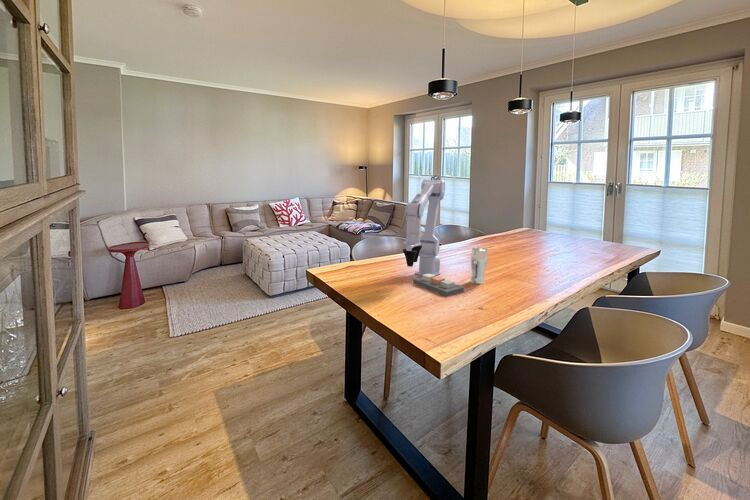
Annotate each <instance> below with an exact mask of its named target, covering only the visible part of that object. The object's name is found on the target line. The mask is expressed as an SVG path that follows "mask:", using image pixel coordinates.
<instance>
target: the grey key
mask: <svg viewBox="0 0 750 500" xmlns="http://www.w3.org/2000/svg"><path fill="white" fill-rule="evenodd" d="M455 284H456V283H455V281H453V280H449V279H445V280H444V281H441V285H440V286H441V287H444V288H446V289H449V288H454V287H455Z"/></svg>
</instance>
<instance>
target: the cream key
mask: <svg viewBox="0 0 750 500" xmlns="http://www.w3.org/2000/svg"><path fill="white" fill-rule="evenodd" d="M421 277H422V280H425V281H427V282H430V281H431V278H434V277H437V275H432V274H424V275H422V276H421Z"/></svg>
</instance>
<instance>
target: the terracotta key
mask: <svg viewBox="0 0 750 500" xmlns="http://www.w3.org/2000/svg"><path fill="white" fill-rule="evenodd" d="M444 280H446V279H445V278H444V277H441V276H436V277H434V278H431V283H433V284H436V285H441V281H444Z"/></svg>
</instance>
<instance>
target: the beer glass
mask: <svg viewBox="0 0 750 500" xmlns="http://www.w3.org/2000/svg"><path fill="white" fill-rule="evenodd" d="M488 250H489V249H488V248H485V247H472V248H471V252H470V253H471V254H470V267H471V276H470V279H469V282H470V283H471V284H475V285H483V284H484V283H485V272H486V268H487V263H488Z"/></svg>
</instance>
